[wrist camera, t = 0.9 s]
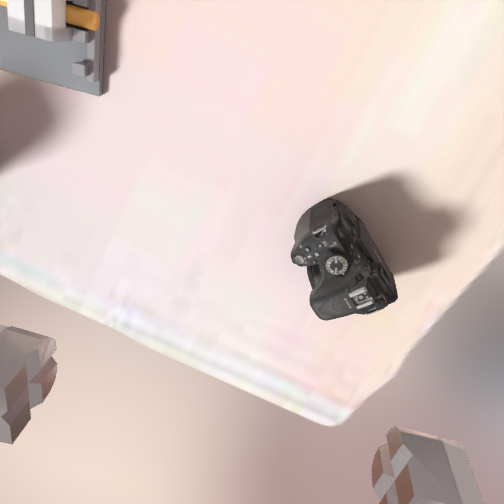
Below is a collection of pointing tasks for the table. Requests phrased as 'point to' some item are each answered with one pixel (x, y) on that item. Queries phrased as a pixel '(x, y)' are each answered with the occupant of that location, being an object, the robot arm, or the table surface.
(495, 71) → the table surface
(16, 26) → the sleeve
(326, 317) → the camera
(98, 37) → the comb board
